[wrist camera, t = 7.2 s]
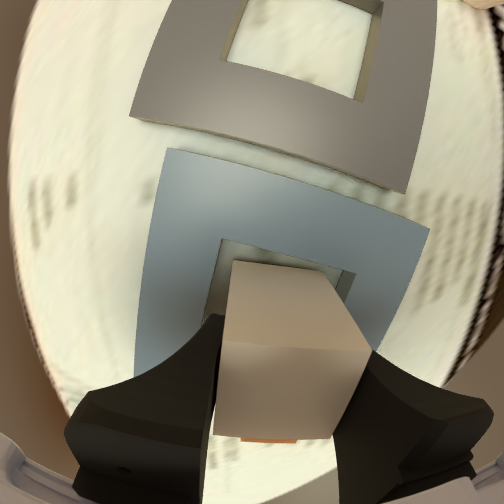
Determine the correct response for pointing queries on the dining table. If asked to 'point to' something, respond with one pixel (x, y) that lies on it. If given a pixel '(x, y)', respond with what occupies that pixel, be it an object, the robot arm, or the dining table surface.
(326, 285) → the plug
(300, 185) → the socket
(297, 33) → the dining table surface
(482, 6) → the cream tapered cup
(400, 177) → the socket
